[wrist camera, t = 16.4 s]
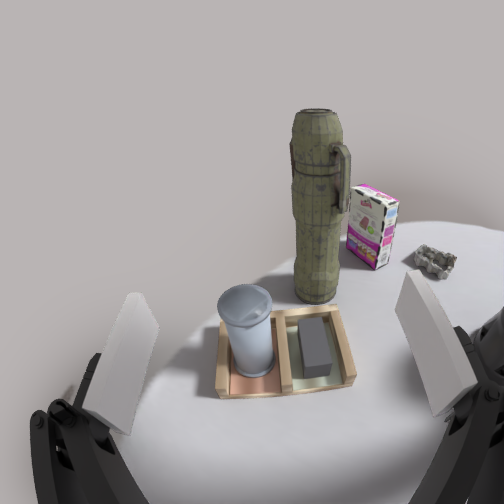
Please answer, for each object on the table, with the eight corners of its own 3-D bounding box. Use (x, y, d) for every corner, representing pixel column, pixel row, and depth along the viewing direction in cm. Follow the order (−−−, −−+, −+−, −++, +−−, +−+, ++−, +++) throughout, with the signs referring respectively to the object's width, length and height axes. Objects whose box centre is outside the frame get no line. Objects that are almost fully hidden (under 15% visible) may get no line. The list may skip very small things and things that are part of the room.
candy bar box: (389, 263, 58) (401, 200, 49) (375, 271, 57) (386, 206, 47) (358, 241, 67) (364, 182, 57) (344, 247, 65) (349, 186, 56)
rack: (334, 318, 48) (336, 303, 46) (351, 385, 36) (356, 374, 34) (224, 328, 49) (220, 315, 47) (220, 399, 37) (215, 388, 35)
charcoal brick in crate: (320, 331, 45) (321, 316, 42) (329, 375, 37) (332, 363, 35) (297, 334, 45) (297, 319, 42) (303, 379, 38) (305, 367, 35)
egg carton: (454, 270, 53) (459, 257, 50) (443, 284, 50) (448, 271, 48) (422, 250, 60) (426, 237, 58) (409, 262, 58) (413, 249, 55)
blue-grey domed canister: (274, 342, 44) (270, 282, 36) (276, 376, 39) (273, 322, 30) (234, 344, 44) (219, 285, 36) (232, 378, 39) (214, 325, 31)
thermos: (308, 266, 61) (305, 105, 40) (350, 291, 53) (365, 112, 32) (280, 286, 57) (266, 111, 36) (322, 315, 49) (330, 116, 28)
